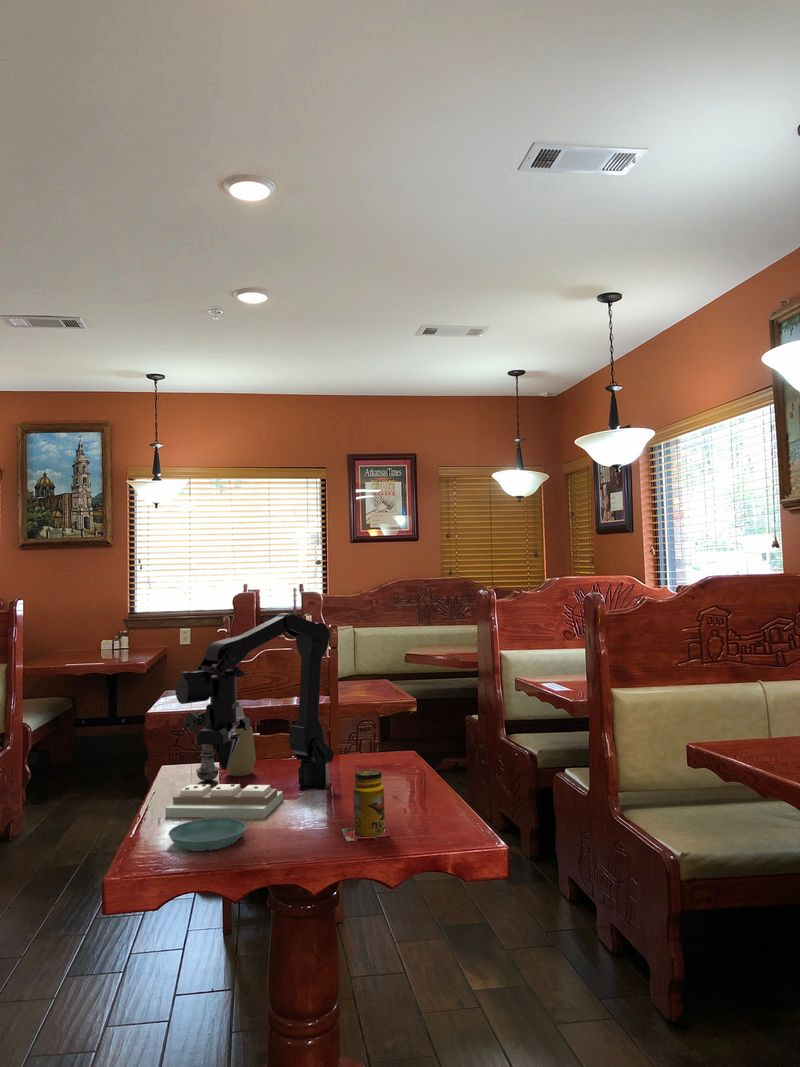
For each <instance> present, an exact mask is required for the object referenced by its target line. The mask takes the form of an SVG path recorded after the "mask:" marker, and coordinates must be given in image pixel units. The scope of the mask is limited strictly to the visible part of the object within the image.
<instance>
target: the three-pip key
mask: <svg viewBox="0 0 800 1067" xmlns="http://www.w3.org/2000/svg"><path fill="white" fill-rule="evenodd" d="M211 787H212V786H211V785H205V784H204V785H197V784H188V785H186V786H185V787H184V788H182V789H180V792H179V793H180V796H204V795H206V794H207V793H209V792H210V791H211Z"/></svg>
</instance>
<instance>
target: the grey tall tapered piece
mask: <svg viewBox="0 0 800 1067" xmlns="http://www.w3.org/2000/svg"><path fill="white" fill-rule="evenodd" d="M215 754H216V752H214V747H213V746H212V745H211V744H201V753H200V754H199V756H201V758H200V760H201V763H200V767H199V768H197V769H195V773H196V775H197V777H198V779H199V780H201V781H199V782H197V784H196V785H204V784H205V785H211V787H214V786H217V785H219V784H220V782H219V781H217V780H216V778H217V777H218V775H219V771H220V769H221V767H218V766H216V765H215V760H214V759H215ZM218 783H219V784H218ZM213 785H214V786H213Z"/></svg>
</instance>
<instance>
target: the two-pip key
mask: <svg viewBox="0 0 800 1067" xmlns="http://www.w3.org/2000/svg"><path fill="white" fill-rule="evenodd" d="M212 788H213V789H211V796H220V797H234V796H235V795H236V794H238V793H239V792H240V789H241V784H240V783H238V784H236V783H230V784H229V783H228V784H227V783H219V784H217V785H215V786H213V787H212Z"/></svg>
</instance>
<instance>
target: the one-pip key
mask: <svg viewBox="0 0 800 1067" xmlns="http://www.w3.org/2000/svg"><path fill="white" fill-rule="evenodd" d="M242 789H243V790H242V791H241V797H265V796H266V795H267V794H268V793H270V789H271V784H248V785H247V786H246V787H244V788H242Z"/></svg>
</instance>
